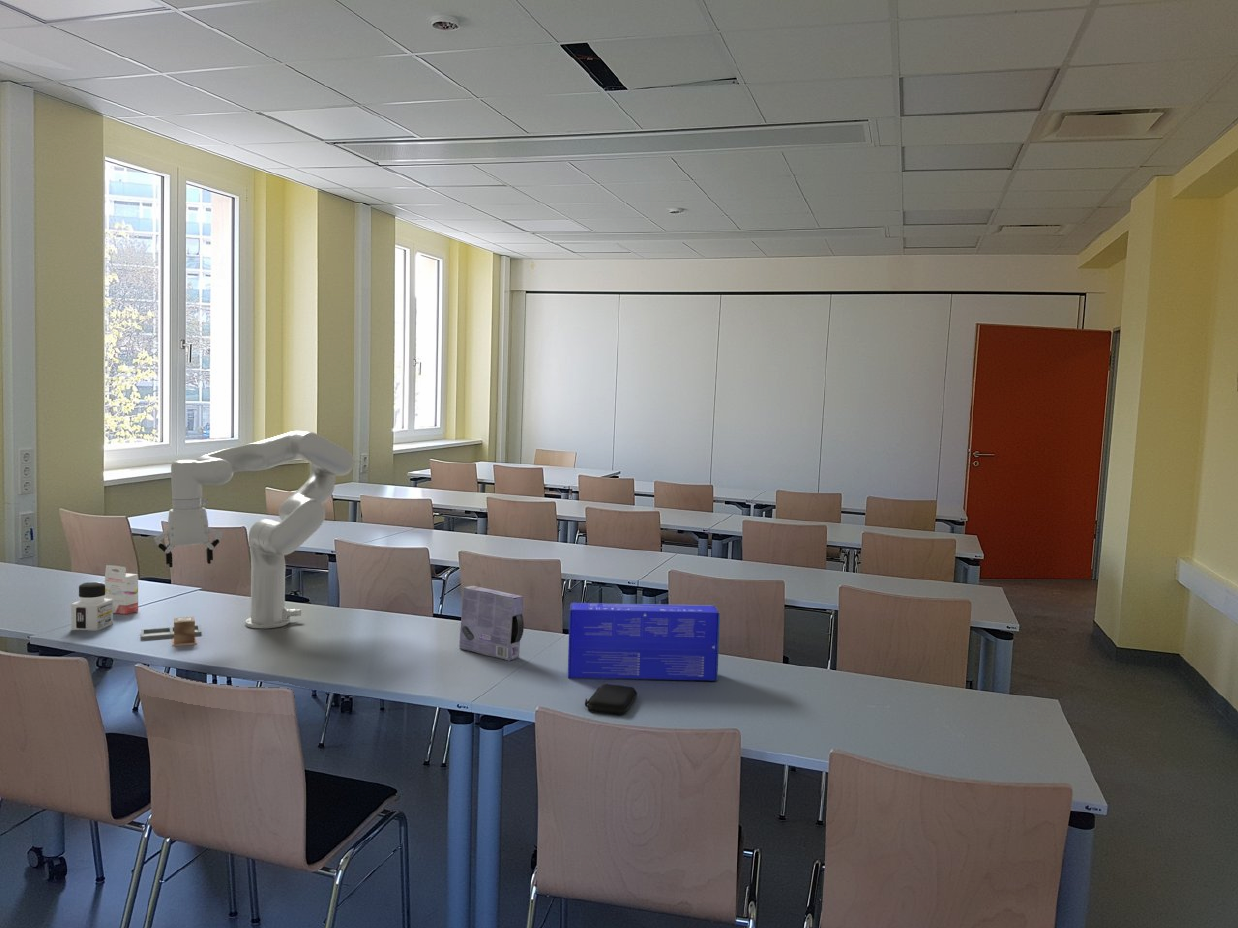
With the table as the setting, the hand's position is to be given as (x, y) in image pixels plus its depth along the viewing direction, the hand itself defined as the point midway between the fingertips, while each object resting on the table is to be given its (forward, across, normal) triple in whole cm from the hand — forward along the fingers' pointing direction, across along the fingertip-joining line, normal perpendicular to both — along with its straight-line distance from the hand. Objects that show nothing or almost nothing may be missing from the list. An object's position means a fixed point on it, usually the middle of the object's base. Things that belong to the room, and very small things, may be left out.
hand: (189, 564), depth 246 cm
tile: (+21, +3, +6) cm, 22 cm away
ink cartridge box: (+21, +17, -37) cm, 46 cm away
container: (+20, +24, -21) cm, 38 cm away
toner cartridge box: (+24, -99, +81) cm, 130 cm away
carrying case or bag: (+23, -81, +96) cm, 128 cm away
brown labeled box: (+20, +3, +6) cm, 21 cm away
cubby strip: (+21, +5, -4) cm, 22 cm away
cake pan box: (+23, -70, +48) cm, 88 cm away
